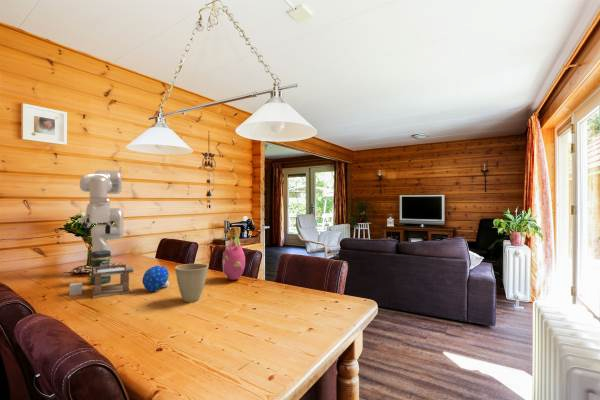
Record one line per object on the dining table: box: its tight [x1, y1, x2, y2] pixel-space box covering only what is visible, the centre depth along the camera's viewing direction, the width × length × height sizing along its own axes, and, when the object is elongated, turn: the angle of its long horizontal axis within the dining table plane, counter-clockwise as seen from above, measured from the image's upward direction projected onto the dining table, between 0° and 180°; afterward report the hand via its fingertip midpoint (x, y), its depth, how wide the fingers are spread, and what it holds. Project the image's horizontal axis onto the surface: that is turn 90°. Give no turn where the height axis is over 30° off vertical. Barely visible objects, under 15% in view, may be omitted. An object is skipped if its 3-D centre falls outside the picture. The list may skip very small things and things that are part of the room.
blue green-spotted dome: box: [141, 265, 170, 292], centre depth 163 cm, size 14×14×15 cm
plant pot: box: [175, 263, 209, 303], centre depth 147 cm, size 15×15×16 cm
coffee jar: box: [89, 250, 112, 286], centre depth 175 cm, size 10×8×19 cm
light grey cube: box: [69, 281, 83, 297], centre depth 155 cm, size 5×5×5 cm
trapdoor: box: [97, 266, 134, 276], centre depth 161 cm, size 12×16×2 cm
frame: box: [92, 263, 131, 299], centre depth 160 cm, size 20×16×12 cm
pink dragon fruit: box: [221, 229, 246, 281], centre depth 184 cm, size 18×14×30 cm
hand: (98, 234), depth 157 cm, fingers open, 9 cm apart
